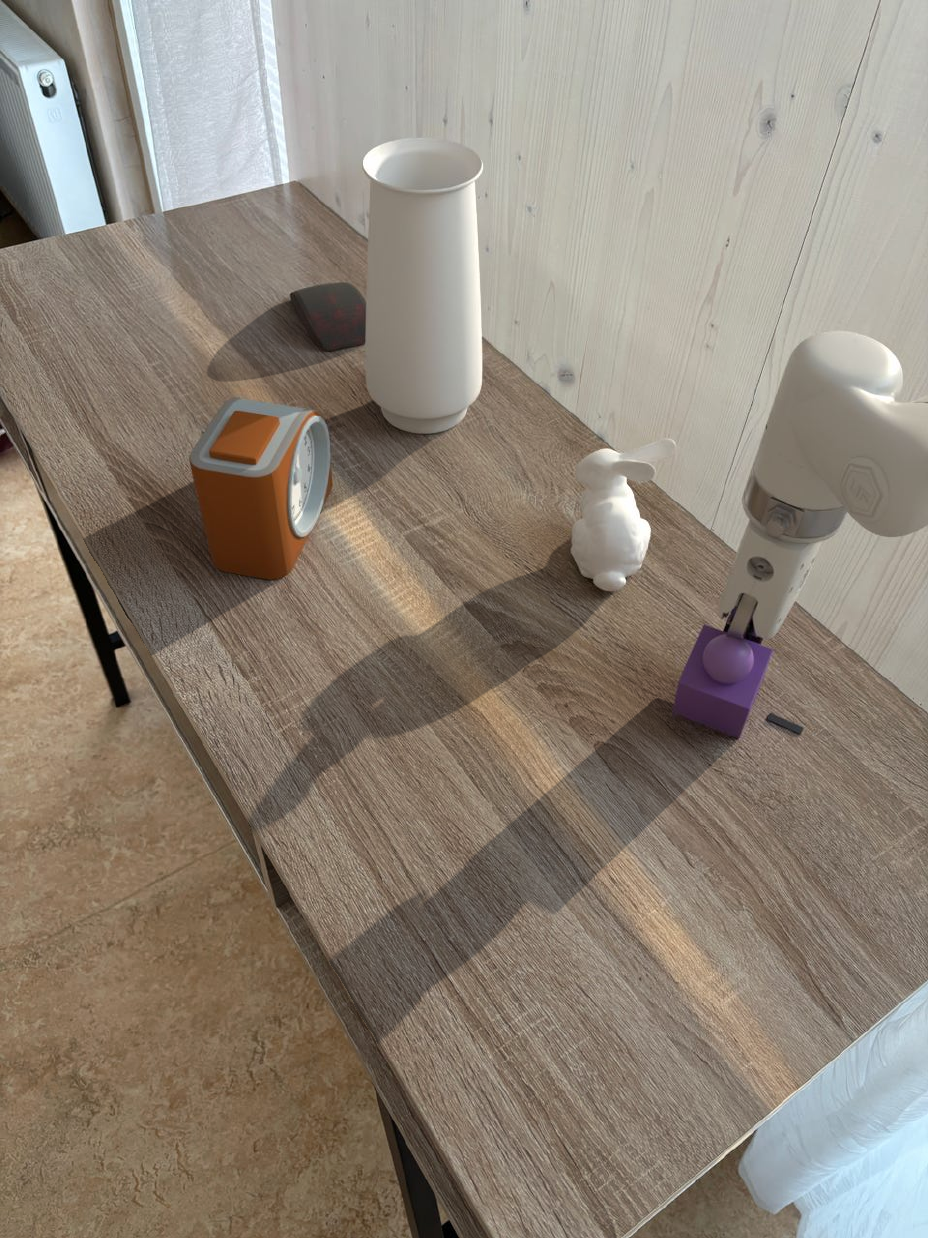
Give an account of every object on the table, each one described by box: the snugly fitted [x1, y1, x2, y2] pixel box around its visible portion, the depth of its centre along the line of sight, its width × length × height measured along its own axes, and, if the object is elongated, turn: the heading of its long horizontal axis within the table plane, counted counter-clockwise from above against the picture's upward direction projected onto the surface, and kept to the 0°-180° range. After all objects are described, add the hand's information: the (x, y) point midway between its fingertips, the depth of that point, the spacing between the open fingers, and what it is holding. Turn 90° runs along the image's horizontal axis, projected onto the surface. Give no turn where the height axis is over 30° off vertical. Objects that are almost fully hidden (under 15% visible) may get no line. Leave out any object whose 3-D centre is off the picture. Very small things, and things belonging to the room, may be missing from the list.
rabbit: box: [570, 437, 677, 592], centre depth 96 cm, size 12×9×12 cm
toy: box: [672, 624, 774, 740], centre depth 84 cm, size 6×6×9 cm
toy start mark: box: [766, 712, 805, 735], centre depth 87 cm, size 3×1×1 cm, turn 59°
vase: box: [361, 137, 484, 435], centre depth 106 cm, size 13×13×28 cm
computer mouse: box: [289, 281, 366, 352], centre depth 127 cm, size 8×14×4 cm, turn 23°
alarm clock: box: [188, 397, 334, 581], centre depth 97 cm, size 15×8×14 cm, turn 167°
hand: (737, 649), depth 89 cm, fingers closed
